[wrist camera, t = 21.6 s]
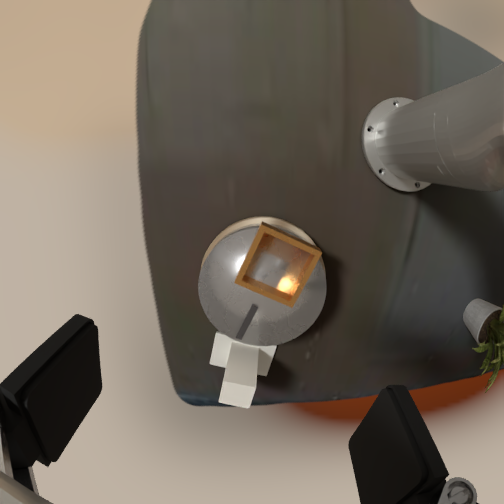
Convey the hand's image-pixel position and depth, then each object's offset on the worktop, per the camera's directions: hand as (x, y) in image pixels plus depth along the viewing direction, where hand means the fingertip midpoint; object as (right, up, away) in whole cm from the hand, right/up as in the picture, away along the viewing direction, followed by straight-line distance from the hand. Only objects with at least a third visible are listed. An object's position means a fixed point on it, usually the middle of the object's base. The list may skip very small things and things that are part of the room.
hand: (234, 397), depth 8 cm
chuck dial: (+2, +1, +29) cm, 29 cm away
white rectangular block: (-1, -11, +34) cm, 36 cm away
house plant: (+38, -5, +31) cm, 49 cm away
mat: (-1, -11, +35) cm, 36 cm away
